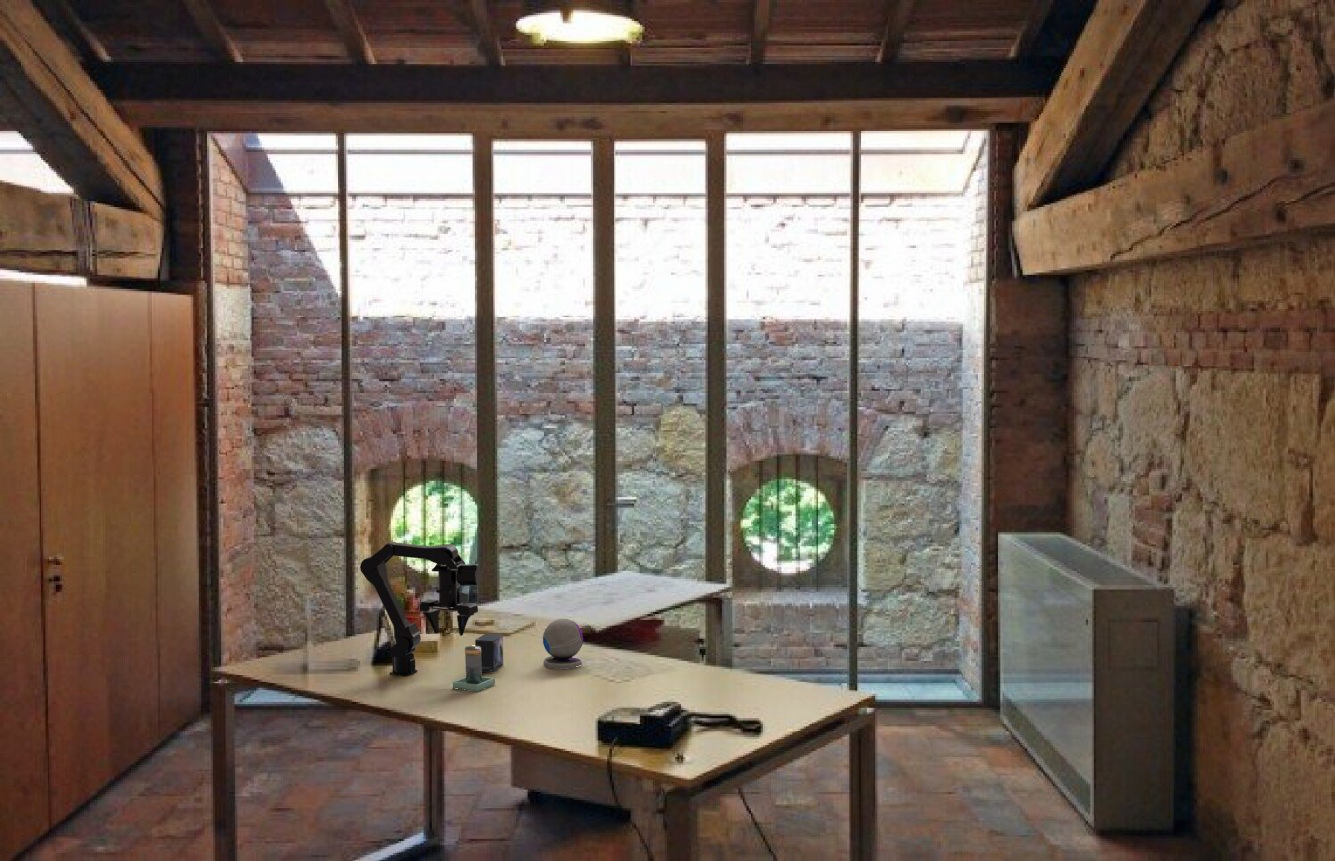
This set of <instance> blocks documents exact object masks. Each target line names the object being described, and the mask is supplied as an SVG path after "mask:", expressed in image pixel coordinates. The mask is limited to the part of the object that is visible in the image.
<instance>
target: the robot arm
mask: <svg viewBox="0 0 1335 861" xmlns="http://www.w3.org/2000/svg"><path fill="white" fill-rule="evenodd" d="M393 557H403V558H412V559H420V560H427V561H429V562H432V563H433V564H436V565H434V567H433V568H432V569H431V572H437V573H438V577H437V579H438V588H437V589H436V590H435V591H436V592H435V593H437V594H438V599H426V600H423V601H421V602H420V603H419V606H418V609H419V612H422V614H423V615H425V617H426V618H427V620H428V621H429V623H430V625H431V627H432V629H433V631H434V633H435V634H438V633H439V631H440V627H439V626H440V624H439V622H440V620H439V615H440V613H441V610H442V611H443V610H444V611H452V612H457V614H458V615H456V621H457V628H458V633H459V636H460V637H462V636H463V635H464V632H465V629H466V627H467V623H468V621H469V619H470V618H471V617H472V616H474V615H475V614H476V613H478V612H479V608H478V607H479V606H478V605H477V603H475V602H474V603H473V602H468V601H469V596H470V595H469V594H468V593H465V592H462V591H461V589H460V587H461V586H463V587H464V586H466V587H479V586H480V585H481V582H482V573H481V572H482V571H481V569H480V567H479V565H480V564H478V563H474V564H466V562H465V560H463V558H462V557H461V556H460V554H459V550H458V549H457V547H456V545H454V544H450V543H448V544H440V545H439V544H438V545H421V544H412V543H401V542H396V541H390V542H388V543H386V544H384V546H383V547H382V548H380V549H379V550H378V551H377V552H376V553H374V554H373V555H372V556H369V557H367V558H364V559H362V561H360V562H361V563H360V566H359V570H360V572H361V573H362V575H363V576H364V578H365V579H366V581H368V582H369V583H370V584H371V585H372V586H373V587H374V589H375V591H376V593H377V594H378V597H379V599H380V601H381V603H382V606H383V607H384V609H385V613H386V614H387V616H388V618H389V620H390V622H391V625H392V626H393V637H394V641H395V644H394V645H393V646H392V647H391V648H390V649H389V654H390V656H391V658H392V660H391V661H392V662H391V663H392V671H389V675H396V676H405V677H407V676H410V675H412V674H414V673H415V674H416V673H417V672H418V669H416V659H415V653H413V652H415V651H416V647H418V646H419V645H420V643H421V640H422V637H421V634H422V632H421V631H420V630H419V628H418V625H417V623H416V622H415V621H414V622H413V623H411V622H410V621H409V620H408V619H407V617H406V614H405V613H404V611H403V609H402V606H401V605H400V603H399V601H398V599H397V597H396V594H395V592H394V590H393V588H392V586H391V583H390V582H389V580H388V568H387V565H386V564H387V563H388V562H390V560H391V559H392V558H393ZM458 584H459V585H460V587H458Z"/></svg>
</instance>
